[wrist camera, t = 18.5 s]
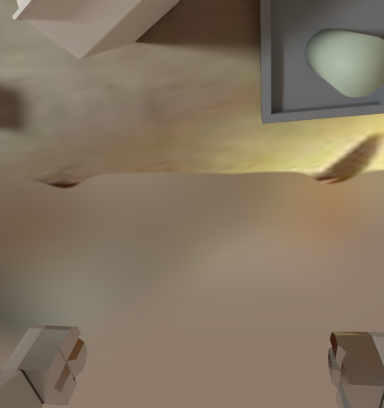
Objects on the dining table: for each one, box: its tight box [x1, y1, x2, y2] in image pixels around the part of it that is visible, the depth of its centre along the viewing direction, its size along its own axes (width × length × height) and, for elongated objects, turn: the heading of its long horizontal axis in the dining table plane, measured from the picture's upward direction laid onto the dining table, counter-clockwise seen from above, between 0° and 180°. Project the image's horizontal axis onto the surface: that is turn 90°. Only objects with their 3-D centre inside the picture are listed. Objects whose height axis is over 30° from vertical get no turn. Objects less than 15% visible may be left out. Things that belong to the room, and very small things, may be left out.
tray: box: [259, 0, 384, 123], centre depth 35 cm, size 14×14×2 cm
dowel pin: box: [305, 28, 384, 97], centre depth 30 cm, size 4×4×12 cm
